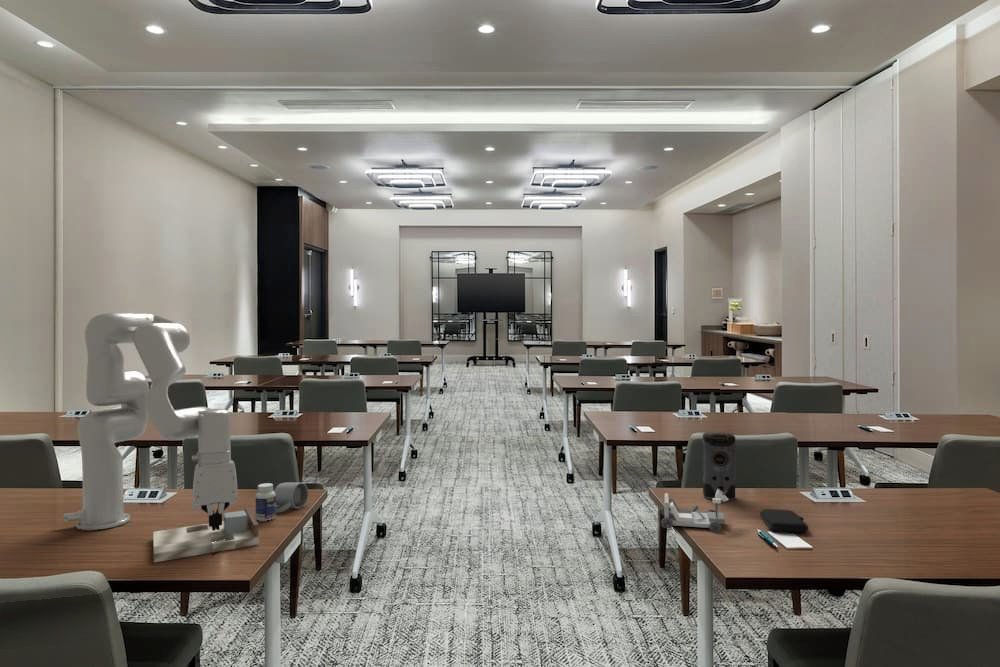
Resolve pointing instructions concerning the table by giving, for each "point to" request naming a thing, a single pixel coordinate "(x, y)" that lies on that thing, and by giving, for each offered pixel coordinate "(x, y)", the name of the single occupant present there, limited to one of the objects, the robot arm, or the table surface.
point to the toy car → (693, 514)
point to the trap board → (202, 540)
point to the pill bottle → (265, 502)
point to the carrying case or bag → (784, 521)
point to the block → (235, 522)
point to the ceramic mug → (291, 495)
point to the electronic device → (718, 464)
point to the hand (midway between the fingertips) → (215, 528)
